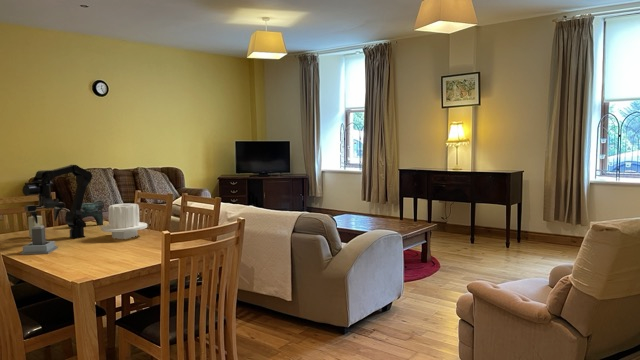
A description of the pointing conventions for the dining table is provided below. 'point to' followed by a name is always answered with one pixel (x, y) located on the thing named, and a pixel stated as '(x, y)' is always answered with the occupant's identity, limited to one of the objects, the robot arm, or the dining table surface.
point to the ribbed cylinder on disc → (123, 221)
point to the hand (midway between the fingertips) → (46, 222)
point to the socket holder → (39, 248)
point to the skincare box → (34, 224)
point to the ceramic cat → (93, 210)
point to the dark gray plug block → (38, 235)
